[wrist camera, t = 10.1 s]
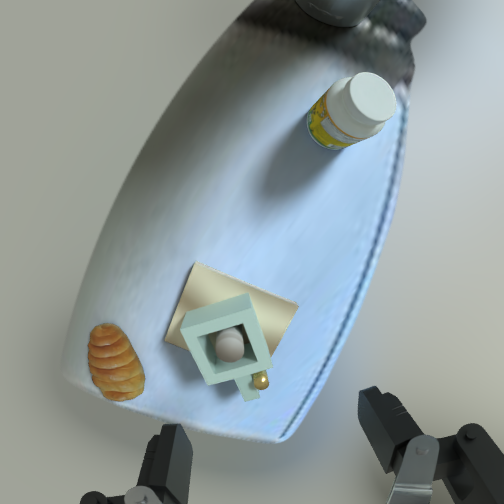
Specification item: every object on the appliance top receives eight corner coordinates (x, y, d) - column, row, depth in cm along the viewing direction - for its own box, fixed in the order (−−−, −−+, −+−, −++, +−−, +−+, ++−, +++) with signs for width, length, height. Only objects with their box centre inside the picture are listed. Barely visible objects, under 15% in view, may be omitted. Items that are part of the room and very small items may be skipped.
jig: (196, 260, 27) (186, 278, 21) (296, 302, 29) (312, 328, 23) (166, 335, 28) (153, 366, 22) (259, 369, 30) (265, 404, 24)
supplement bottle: (333, 161, 26) (380, 146, 17) (294, 124, 25) (324, 90, 16) (363, 127, 26) (414, 103, 16) (326, 92, 25) (365, 52, 16)
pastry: (83, 320, 28) (68, 333, 24) (134, 319, 28) (122, 335, 24) (104, 385, 29) (94, 402, 26) (151, 387, 30) (145, 407, 26)
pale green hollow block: (186, 311, 27) (180, 329, 23) (248, 292, 27) (251, 307, 23) (223, 390, 29) (223, 413, 25) (278, 374, 29) (284, 396, 25)
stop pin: (254, 356, 28) (258, 377, 25) (266, 360, 28) (271, 381, 25) (249, 366, 28) (251, 387, 25) (260, 370, 29) (265, 391, 25)
